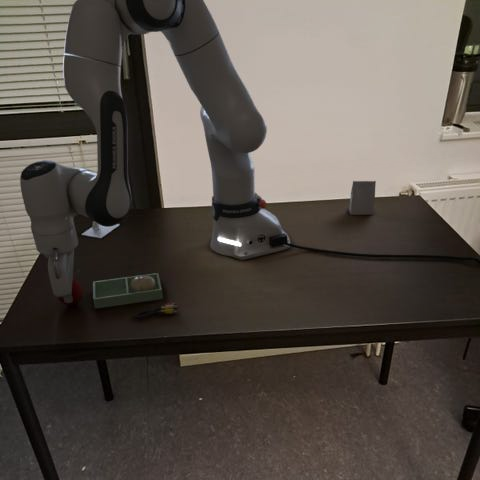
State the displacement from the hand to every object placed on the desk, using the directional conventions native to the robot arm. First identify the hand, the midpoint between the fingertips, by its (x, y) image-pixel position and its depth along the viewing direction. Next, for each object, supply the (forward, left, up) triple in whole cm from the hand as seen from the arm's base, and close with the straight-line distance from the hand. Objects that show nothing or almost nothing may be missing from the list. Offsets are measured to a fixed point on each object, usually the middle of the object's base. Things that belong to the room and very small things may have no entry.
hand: (69, 292), depth 119 cm
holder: (-13, -1, -4) cm, 14 cm away
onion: (0, 0, -4) cm, 4 cm away
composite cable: (-19, +9, -4) cm, 21 cm away
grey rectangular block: (-87, -31, -4) cm, 93 cm away
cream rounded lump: (-17, -1, -3) cm, 17 cm away
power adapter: (-7, -41, -4) cm, 42 cm away
